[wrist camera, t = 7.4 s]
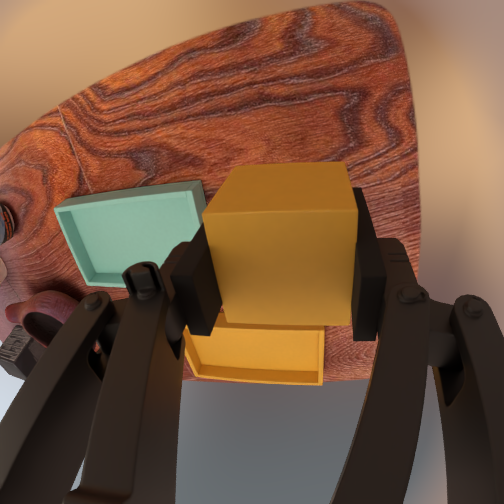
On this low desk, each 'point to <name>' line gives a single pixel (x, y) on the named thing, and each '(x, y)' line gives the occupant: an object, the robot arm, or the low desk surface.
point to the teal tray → (129, 227)
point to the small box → (20, 353)
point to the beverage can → (5, 224)
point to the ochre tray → (258, 353)
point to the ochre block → (284, 243)
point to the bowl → (43, 314)
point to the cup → (2, 271)
